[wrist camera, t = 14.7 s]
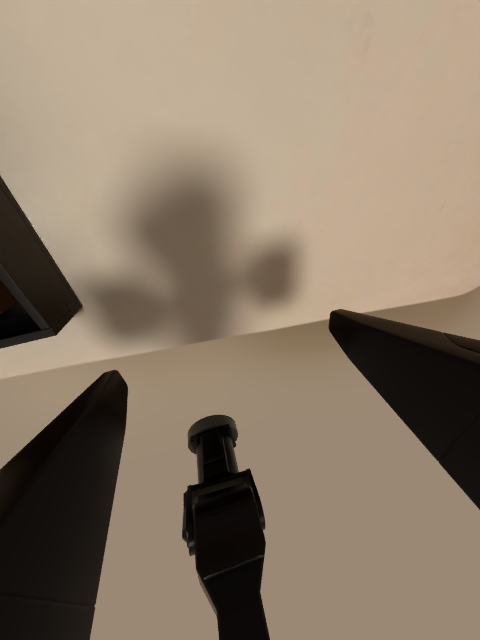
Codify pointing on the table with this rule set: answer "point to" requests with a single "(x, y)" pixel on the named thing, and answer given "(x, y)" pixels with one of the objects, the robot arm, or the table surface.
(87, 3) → the table surface
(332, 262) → the table surface
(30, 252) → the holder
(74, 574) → the robot arm
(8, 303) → the red pad with bar
